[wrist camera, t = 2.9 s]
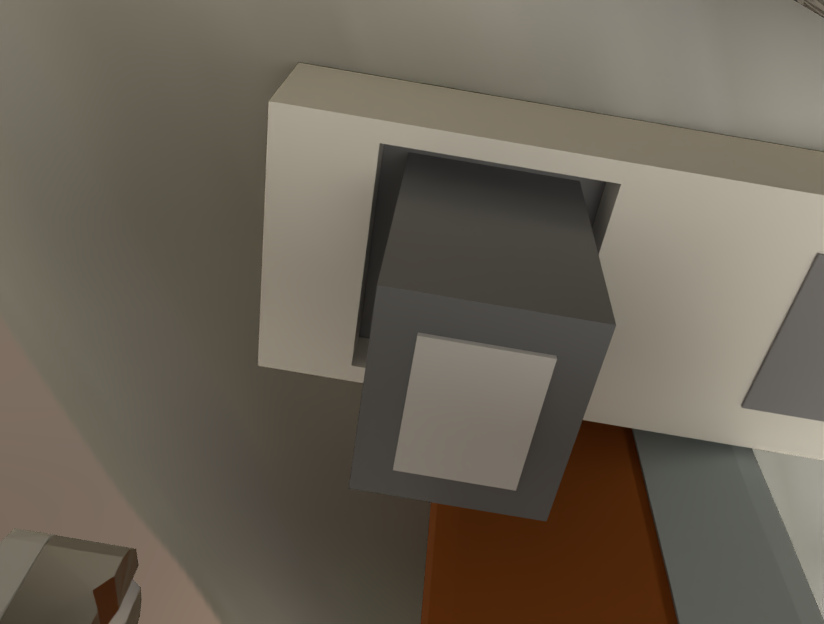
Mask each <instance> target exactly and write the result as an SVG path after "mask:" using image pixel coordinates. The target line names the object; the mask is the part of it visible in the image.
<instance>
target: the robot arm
mask: <svg viewBox="0 0 824 624" xmlns="http://www.w3.org/2000/svg"><path fill="white" fill-rule="evenodd" d="M137 568H138V559H137V552H136V549H134V548H128V547H122V546H116V545H110V544H104V543H99V542H93V541H87V540H81V539H75V538H69V537H63V536H58V535H54V534H47V533H41V532H34V531H27V530H21V529H14V530H13V531H12V532H11V533H10V534H8V535H7V536H6V537H5V538H4V539H3V540H2V541H1V542H0V624H138V621H139V617H140V609H141V587H140V586H139V585H138V584H137V583H136V582H135V581H134V580H133V577H134V574H135V572H136V570H137Z"/></svg>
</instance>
